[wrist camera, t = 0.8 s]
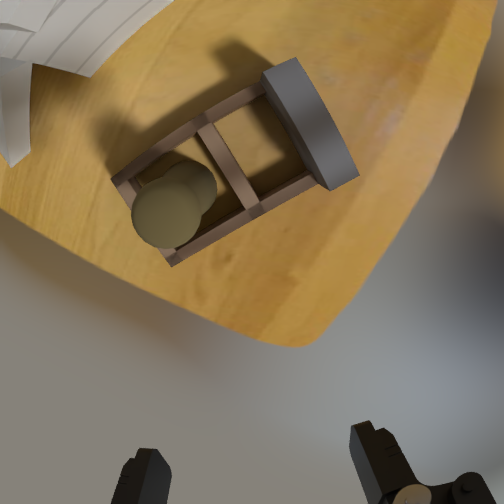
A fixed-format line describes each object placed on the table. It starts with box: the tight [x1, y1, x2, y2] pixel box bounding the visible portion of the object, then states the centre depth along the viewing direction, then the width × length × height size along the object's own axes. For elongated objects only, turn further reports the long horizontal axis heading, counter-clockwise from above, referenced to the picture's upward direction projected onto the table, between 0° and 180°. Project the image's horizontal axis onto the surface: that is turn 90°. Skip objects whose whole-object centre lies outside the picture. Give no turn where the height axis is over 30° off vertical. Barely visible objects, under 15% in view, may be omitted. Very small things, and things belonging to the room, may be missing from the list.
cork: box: [131, 161, 217, 249], centre depth 23 cm, size 6×6×11 cm
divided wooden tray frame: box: [111, 57, 360, 267], centre depth 24 cm, size 11×20×6 cm, turn 120°
